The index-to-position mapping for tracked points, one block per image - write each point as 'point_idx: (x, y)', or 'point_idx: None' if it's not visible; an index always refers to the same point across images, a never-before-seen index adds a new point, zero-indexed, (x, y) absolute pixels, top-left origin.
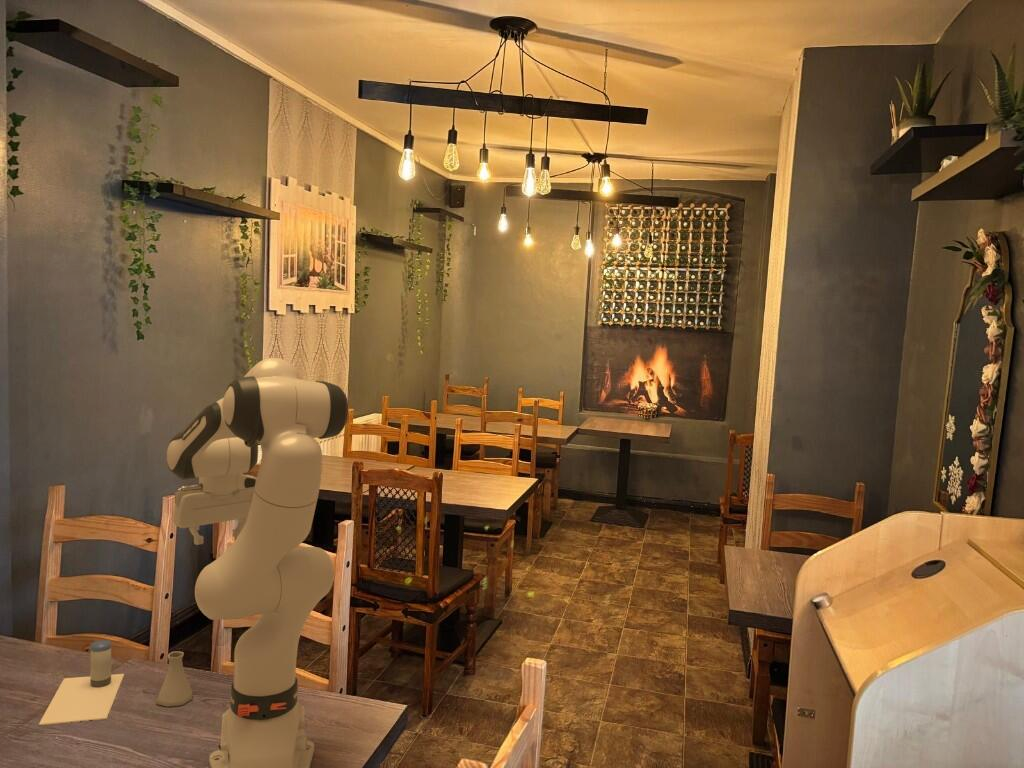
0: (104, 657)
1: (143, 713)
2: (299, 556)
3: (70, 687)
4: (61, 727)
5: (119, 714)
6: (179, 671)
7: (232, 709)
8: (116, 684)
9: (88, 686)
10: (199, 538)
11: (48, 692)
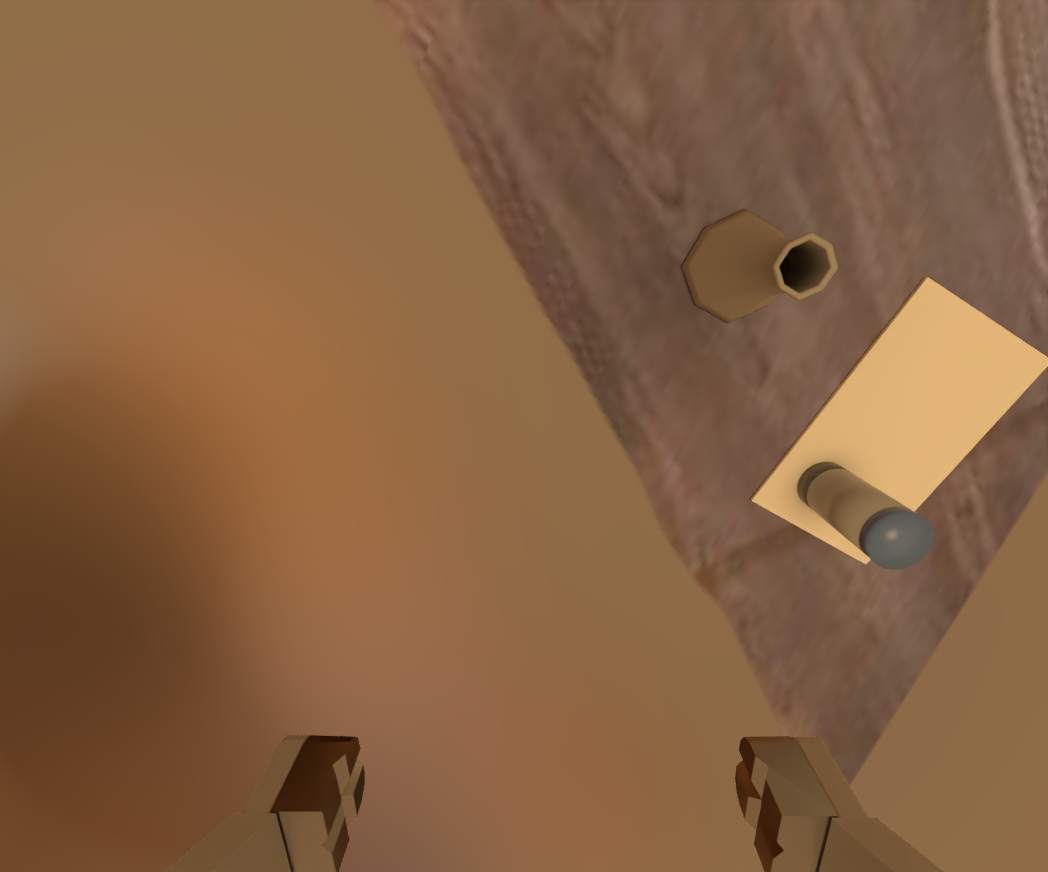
0: (881, 496)
1: (840, 242)
2: None
3: None
4: (1021, 312)
5: (885, 282)
6: (777, 239)
7: None
8: (799, 453)
9: None
10: (832, 801)
11: None
